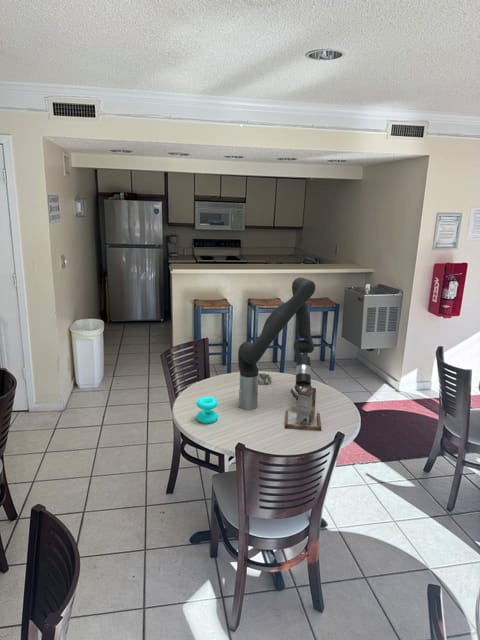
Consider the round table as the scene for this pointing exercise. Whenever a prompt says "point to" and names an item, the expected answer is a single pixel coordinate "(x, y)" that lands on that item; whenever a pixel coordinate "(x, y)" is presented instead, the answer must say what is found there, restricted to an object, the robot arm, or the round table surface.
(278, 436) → the round table surface
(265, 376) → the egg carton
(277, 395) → the round table surface
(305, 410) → the coffee box
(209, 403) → the turquoise spool
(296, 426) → the open wooden frame
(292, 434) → the round table surface
